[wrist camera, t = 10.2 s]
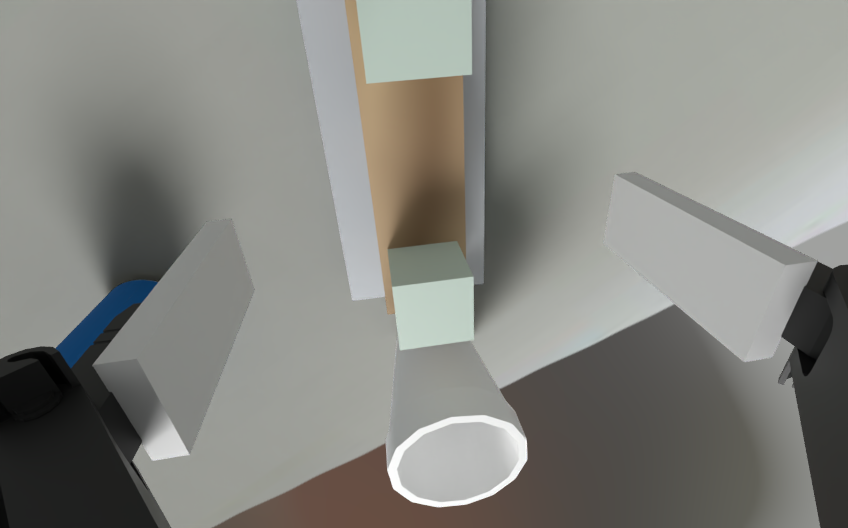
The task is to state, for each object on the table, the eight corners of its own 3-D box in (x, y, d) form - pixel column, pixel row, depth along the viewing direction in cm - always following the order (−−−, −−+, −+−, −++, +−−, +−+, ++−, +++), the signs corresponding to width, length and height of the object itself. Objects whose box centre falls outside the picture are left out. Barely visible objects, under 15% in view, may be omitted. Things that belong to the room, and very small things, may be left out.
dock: (353, 273, 34) (352, 300, 30) (293, -62, 23) (281, -79, 19) (471, 258, 35) (483, 283, 31) (468, -72, 24) (486, -90, 20)
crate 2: (394, 306, 25) (399, 350, 22) (387, 249, 23) (391, 286, 20) (458, 298, 25) (473, 340, 22) (456, 240, 23) (473, 276, 20)
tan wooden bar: (383, 273, 30) (387, 314, 25) (342, -31, 21) (337, -48, 16) (451, 265, 30) (466, 303, 26) (440, -37, 21) (460, -56, 17)
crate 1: (365, 74, 19) (366, 83, 15) (351, -34, 17) (349, -51, 13) (451, 67, 19) (472, 74, 15) (448, -40, 17) (471, -59, 14)
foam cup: (496, 343, 40) (549, 465, 28) (418, 389, 41) (440, 522, 30) (444, 278, 35) (483, 392, 24) (359, 333, 37) (358, 464, 26)
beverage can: (97, 317, 33) (-25, 449, 22) (130, 259, 31) (12, 374, 20) (178, 351, 35) (103, 483, 25) (214, 299, 33) (147, 419, 23)
